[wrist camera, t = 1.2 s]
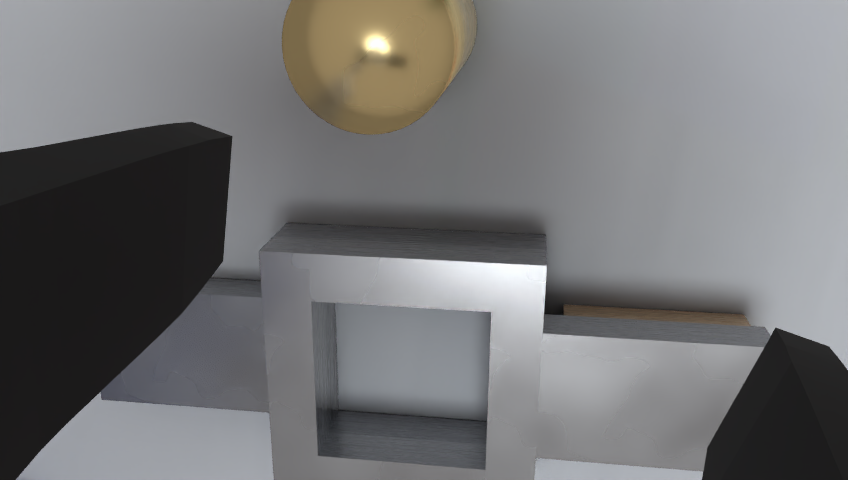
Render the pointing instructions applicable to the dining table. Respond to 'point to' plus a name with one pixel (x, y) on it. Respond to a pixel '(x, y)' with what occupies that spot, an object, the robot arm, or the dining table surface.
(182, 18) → the dining table surface
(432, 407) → the dining table surface
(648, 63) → the dining table surface
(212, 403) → the chain
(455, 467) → the chain
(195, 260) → the robot arm
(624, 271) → the dining table surface
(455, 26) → the brass pin
